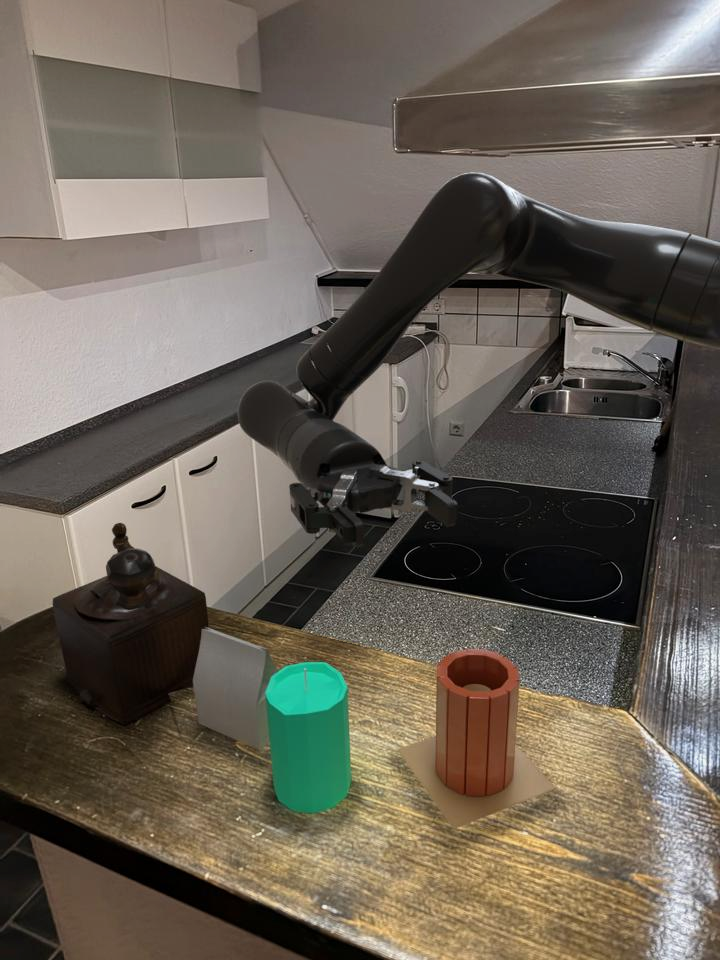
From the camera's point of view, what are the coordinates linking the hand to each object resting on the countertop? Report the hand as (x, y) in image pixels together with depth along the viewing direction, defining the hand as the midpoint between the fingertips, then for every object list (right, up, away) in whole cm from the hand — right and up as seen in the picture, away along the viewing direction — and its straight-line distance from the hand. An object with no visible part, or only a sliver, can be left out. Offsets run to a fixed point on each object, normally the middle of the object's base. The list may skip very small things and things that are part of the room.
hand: (407, 526), depth 63 cm
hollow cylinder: (+5, -19, -3) cm, 20 cm away
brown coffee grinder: (-23, -16, +9) cm, 30 cm away
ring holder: (+5, -20, -3) cm, 21 cm away
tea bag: (-14, -19, +3) cm, 23 cm away
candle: (-8, -21, -4) cm, 23 cm away
